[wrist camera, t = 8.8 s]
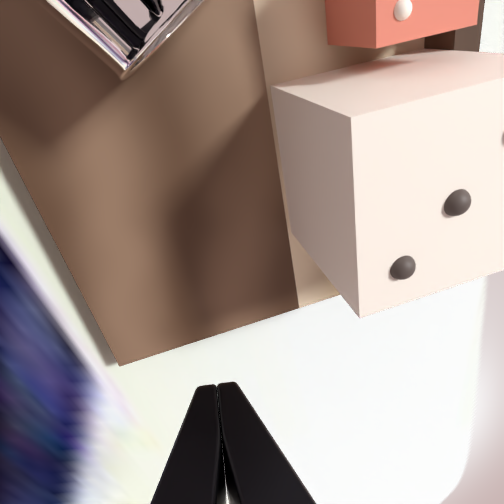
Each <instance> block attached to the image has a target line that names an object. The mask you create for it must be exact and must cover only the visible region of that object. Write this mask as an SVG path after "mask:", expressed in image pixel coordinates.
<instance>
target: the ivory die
mask: <svg viewBox="0 0 504 504" xmlns="http://www.w3.org/2000/svg"><path fill="white" fill-rule="evenodd" d="M270 88H271V95H272V102H273V109H274V116H275V123H276V130H277V137H278V143H279V150H280V157H281V164H282V171H283V178H284V185H285V192H286V199H287V206H288V213H289V220H290V227H291V233H292V234H293V235H294V236H295V238H296V239H297V240H298V241H299V243H300V244H301V245H302V246H303V248H304V249H305V250H306V252H307V253H308V254H309V255H310V257H311V258H312V259H313V260H314V262H315V263H316V264H317V265H318V267H319V268H320V269H321V270H322V272H323V273H324V274H325V275H326V277H327V278H328V279H329V280H330V282H331V283H332V284H333V285H334V287H335V288H336V289H337V291H338V292H339V293H340V294H341V296H342V297H343V298H344V299H345V301H346V302H347V303H348V304H349V306H350V307H351V308H352V309H353V311H354V312H355V313H356V314H357V316H358V317H359V318H362V317H365V316H368V315H371V314H374V313H377V312H380V311H383V310H386V309H389V308H392V307H395V306H398V305H401V304H404V303H407V302H410V301H413V300H416V299H419V298H422V297H425V296H428V295H431V294H434V293H437V292H440V291H443V290H446V289H449V288H452V287H455V286H457V285H460V284H463V283H466V282H469V281H472V280H475V279H478V278H481V277H484V276H487V275H490V274H493V273H496V272H499V271H502V270H504V54H503V53H488V52H472V51H456V50H440V49H424V48H422V49H418V50H414V51H410V52H406V53H402V54H398V55H394V56H390V57H385V58H381V59H377V60H373V61H369V62H365V63H361V64H357V65H352V66H348V67H344V68H340V69H336V70H332V71H328V72H324V73H319V74H315V75H311V76H307V77H303V78H299V79H295V80H291V81H286V82H282V83H278V84H274V85H270Z"/></svg>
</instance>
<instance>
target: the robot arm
mask: <svg viewBox="0 0 504 504" xmlns="http://www.w3.org/2000/svg"><path fill="white" fill-rule="evenodd" d="M217 394H218V396H217ZM218 404H219V406H218ZM219 415H220V416H219ZM220 426H221V427H220ZM221 436H222V438H221ZM222 447H223V448H222ZM223 457H224V459H223ZM224 468H225V470H224ZM225 478H226V482H225ZM226 487H227V494H228V500H229V504H316V503H315V501H314V500H313V498H312V496H311V495H310V493H309V492H308V490H307V489H306V487H305V486H304V484H303V483H302V481H301V480H300V478H299V477H298V475H297V474H296V472H295V471H294V469H293V468H292V466H291V465H290V463H289V462H288V460H287V458H286V457H285V455H284V454H283V452H282V451H281V449H280V448H279V446H278V445H277V443H276V442H275V440H274V439H273V437H272V436H271V434H270V433H269V431H268V430H267V428H266V427H265V425H264V424H263V422H262V420H261V419H260V417H259V416H258V414H257V413H256V411H255V410H254V408H253V407H252V405H251V404H250V402H249V401H248V399H247V398H246V396H245V395H244V393H243V392H242V390H241V389H240V387H239V386H238V384H237V383H236V382H227V383H220V384H218V386H217V387H216V385H214V384H212V385H204V386H199V387H197V389H196V390H195V393H194V395H193V398H192V400H191V403H190V405H189V408H188V410H187V413H186V416H185V418H184V421H183V423H182V426H181V428H180V431H179V433H178V436H177V438H176V441H175V443H174V446H173V448H172V451H171V453H170V456H169V458H168V461H167V463H166V466H165V468H164V471H163V473H162V476H161V479H160V481H159V484H158V486H157V489H156V491H155V494H154V496H153V499H152V501H151V504H226Z"/></svg>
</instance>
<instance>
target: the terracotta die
mask: <svg viewBox="0 0 504 504" xmlns="http://www.w3.org/2000/svg"><path fill="white" fill-rule="evenodd" d="M478 9H479V0H325V11H326V26H327V40H328V45H336V46H350V47H363V48H381V47H385V46H389V45H393V44H397V43H402V42H406V41H410V40H414V39H418V38H423V37H427V36H431V35H435V34H439V33H444V32H448V31H452V30H456V29H460V28H465V27H469V26H473V25H477V18H478Z"/></svg>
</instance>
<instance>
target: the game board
mask: <svg viewBox="0 0 504 504" xmlns="http://www.w3.org/2000/svg"><path fill="white" fill-rule="evenodd" d="M484 3H485V0H479V9H478V18H477V25H473V26H469V27H465V28H460V29H456V30H452V31H448V32H444V33H439V34H435V35H431V36H427V37H423V38H418V39H414V40H410V41H406V42H402V43H397V44H393V45H389V46H385V47H381V48H363V47H350V46H336V45H328V40H327V26H326V11H325V0H206V1H205V2H204V3H203V4H202V5H201V6H200V7H199V8H198V9H197V10H196V11H195V12H194V13H193V14H192V16H191V17H190V18H189V19H188V20H187V21H186V22H185V23H184V24H183V25H182V26H181V27H180V28H179V29H178V30H177V31H176V32H175V33H174V34H173V35H172V36H171V37H170V38H169V39H168V40H167V41H166V42H165V43H164V44H163V45H162V46H161V47H160V48H159V49H158V50H157V51H156V52H155V53H154V54H153V55H152V56H151V57H150V58H149V59H148V60H147V61H146V62H145V63H144V64H143V65H142V66H141V67H139V68H138V69H137V70H136V71H135V72H134V73H133V74H132V75H130V76H129V77H128V78H126V79H125V80H121V79H119V77H118V76H117V75H116V74H115V73H114V72H113V71H112V70H111V69H110V68H109V67H108V66H107V65H106V64H105V63H104V62H103V61H102V60H100V59H99V58H98V57H97V56H96V55H95V54H94V53H93V52H92V51H90V50H89V49H88V48H87V47H86V46H85V45H84V44H83V43H81V42H80V41H79V40H78V39H77V38H76V37H75V36H73V35H72V34H71V33H70V32H69V31H68V30H67V29H66V28H65V27H63V26H62V25H61V24H60V23H59V22H58V21H57V20H56V19H55V18H54V17H52V16H51V15H50V14H49V13H48V12H47V11H46V10H45V9H44V8H43V7H42V6H40V5H39V4H38V3H37V2H36V1H35V0H0V137H1V139H2V141H3V143H4V145H5V147H6V149H7V151H8V153H9V155H10V157H11V159H12V161H13V162H14V164H15V166H16V168H17V170H18V172H19V174H20V176H21V178H22V180H23V182H24V184H25V186H26V187H27V189H28V191H29V193H30V195H31V197H32V199H33V201H34V203H35V205H36V207H37V209H38V211H39V212H40V214H41V216H42V218H43V220H44V222H45V224H46V226H47V228H48V230H49V232H50V234H51V236H52V237H53V239H54V241H55V243H56V245H57V247H58V249H59V251H60V253H61V255H62V257H63V259H64V261H65V263H66V264H67V266H68V268H69V270H70V272H71V274H72V276H73V278H74V280H75V282H76V284H77V286H78V288H79V289H80V291H81V293H82V295H83V297H84V299H85V301H86V303H87V305H88V307H89V309H90V311H91V313H92V314H93V316H94V318H95V320H96V322H97V324H98V326H99V328H100V330H101V332H102V334H103V336H104V338H105V339H106V341H107V343H108V345H109V347H110V349H111V351H112V353H113V355H114V357H115V359H116V361H117V363H118V365H119V366H122V365H126V364H129V363H132V362H135V361H138V360H141V359H144V358H147V357H150V356H153V355H156V354H159V353H162V352H165V351H169V350H172V349H175V348H178V347H181V346H184V345H187V344H190V343H193V342H196V341H199V340H202V339H205V338H208V337H212V336H215V335H218V334H221V333H224V332H227V331H230V330H233V329H236V328H239V327H242V326H245V325H248V324H252V323H255V322H258V321H261V320H264V319H267V318H270V317H273V316H276V315H279V314H282V313H285V312H288V311H291V310H295V309H298V308H301V307H304V306H307V305H310V304H313V303H316V302H319V301H322V300H325V299H328V298H331V297H334V296H338V295H341V294H340V293H339V292H338V291H337V289H336V288H335V287H334V285H333V284H332V283H331V282H330V280H329V279H328V278H327V277H326V275H325V274H324V273H323V272H322V270H321V269H320V268H319V267H318V265H317V264H316V263H315V262H314V260H313V259H312V258H311V257H310V255H309V254H308V253H307V252H306V250H305V249H304V248H303V246H302V245H301V244H300V243H299V241H298V240H297V239H296V238H295V236H294V235H293V234H292V233H291V227H290V220H289V213H288V206H287V199H286V192H285V185H284V178H283V171H282V164H281V157H280V150H279V143H278V137H277V130H276V123H275V116H274V109H273V102H272V95H271V88H270V85H274V84H278V83H282V82H286V81H291V80H295V79H299V78H303V77H307V76H311V75H315V74H319V73H324V72H328V71H332V70H336V69H340V68H344V67H348V66H352V65H357V64H361V63H365V62H369V61H373V60H377V59H381V58H385V57H390V56H394V55H398V54H402V53H406V52H410V51H414V50H418V49H422V48H424V49H440V50H456V51H472V52H479V47H480V38H481V29H482V21H483V12H484Z"/></svg>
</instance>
